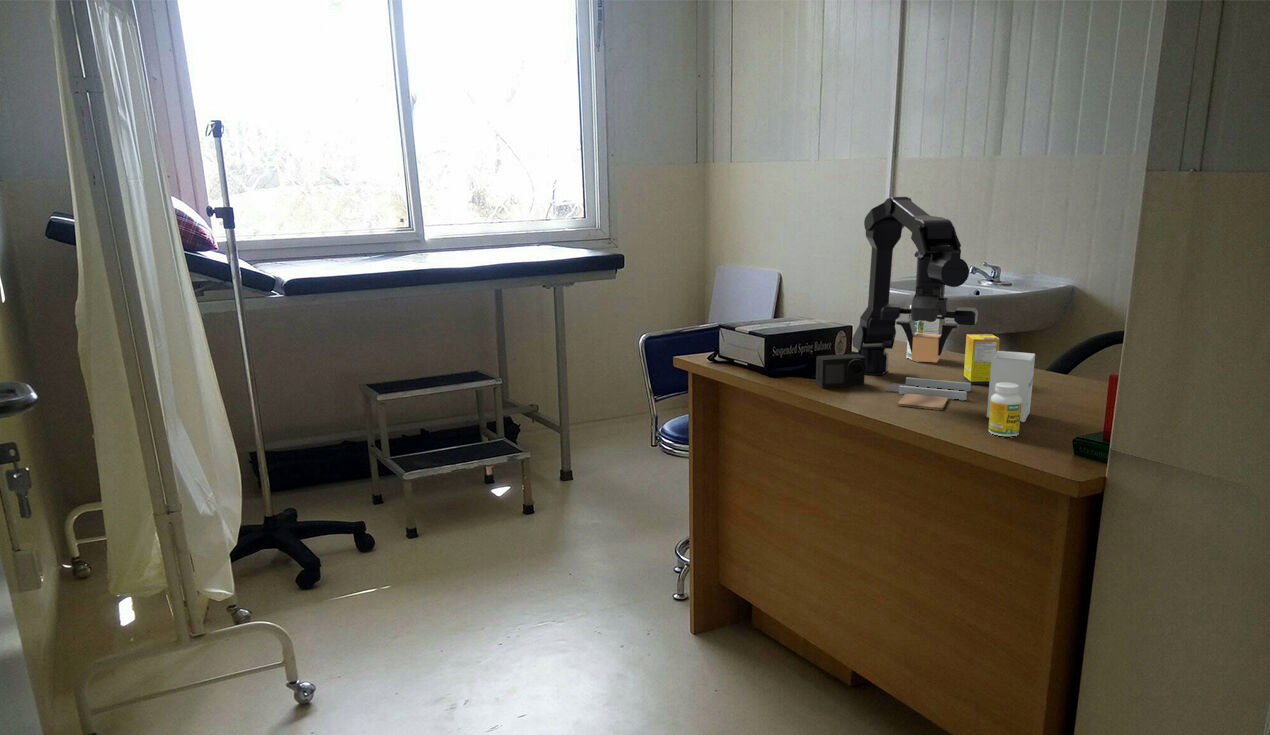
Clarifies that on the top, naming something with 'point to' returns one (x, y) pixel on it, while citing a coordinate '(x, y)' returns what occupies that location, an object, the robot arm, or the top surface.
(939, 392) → the channel
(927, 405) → the coaster
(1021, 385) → the supplement box
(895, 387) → the mat
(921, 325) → the syrup box
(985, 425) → the top surface
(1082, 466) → the top surface
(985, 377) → the supplement box
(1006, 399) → the supplement bottle
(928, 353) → the block
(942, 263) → the robot arm
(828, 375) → the digital camera
